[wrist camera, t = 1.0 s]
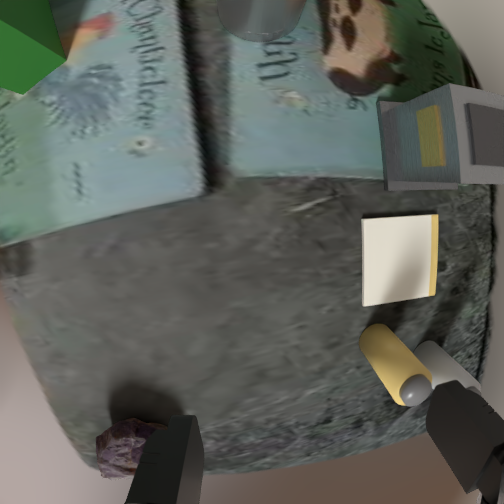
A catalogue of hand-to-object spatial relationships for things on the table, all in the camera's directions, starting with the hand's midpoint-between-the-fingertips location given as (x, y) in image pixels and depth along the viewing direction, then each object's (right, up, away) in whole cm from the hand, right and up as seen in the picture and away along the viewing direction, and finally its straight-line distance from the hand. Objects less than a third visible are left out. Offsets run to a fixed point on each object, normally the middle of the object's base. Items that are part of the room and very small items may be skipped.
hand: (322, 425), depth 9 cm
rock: (-19, -20, +31) cm, 41 cm away
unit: (+17, +18, +23) cm, 34 cm away
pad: (+15, +5, +26) cm, 31 cm away
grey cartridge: (+21, -9, +29) cm, 37 cm away
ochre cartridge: (+13, -5, +28) cm, 31 cm away
